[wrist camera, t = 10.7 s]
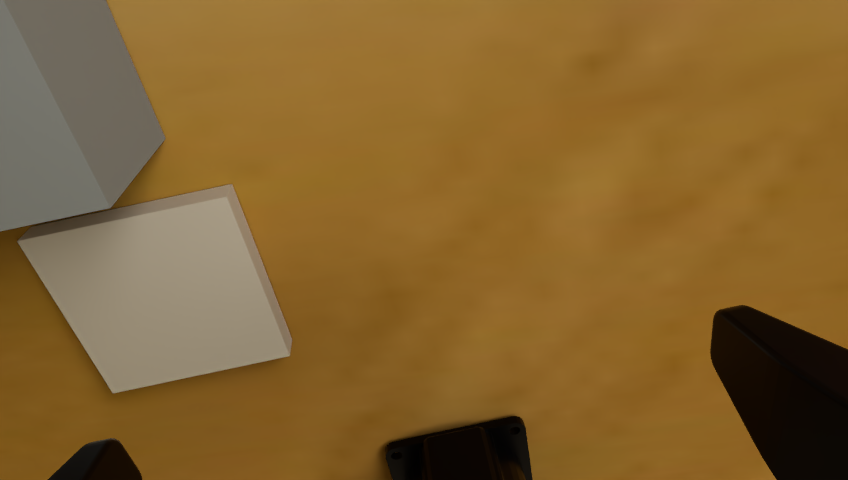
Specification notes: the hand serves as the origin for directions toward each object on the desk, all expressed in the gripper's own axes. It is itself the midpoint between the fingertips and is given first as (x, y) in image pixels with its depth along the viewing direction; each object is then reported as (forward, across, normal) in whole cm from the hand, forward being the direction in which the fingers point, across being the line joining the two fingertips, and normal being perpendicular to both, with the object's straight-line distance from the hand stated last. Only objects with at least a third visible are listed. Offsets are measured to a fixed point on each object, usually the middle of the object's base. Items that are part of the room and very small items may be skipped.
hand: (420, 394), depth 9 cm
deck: (+12, +9, +4) cm, 16 cm away
